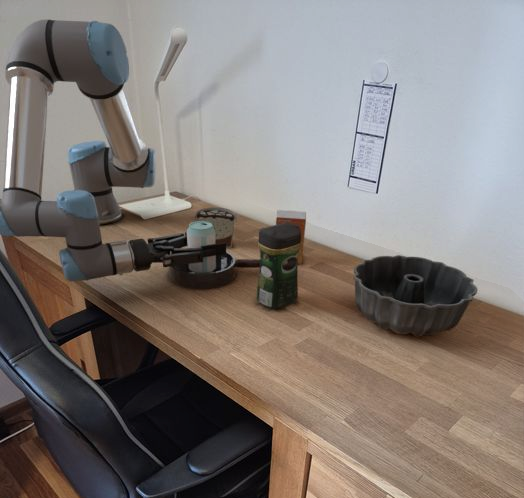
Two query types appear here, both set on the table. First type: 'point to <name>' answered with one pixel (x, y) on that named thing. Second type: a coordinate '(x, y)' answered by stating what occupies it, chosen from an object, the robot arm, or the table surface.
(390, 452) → the table surface
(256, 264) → the skillet handle
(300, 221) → the small box
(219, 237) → the food container
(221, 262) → the skillet
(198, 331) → the table surface
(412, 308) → the bundt pan
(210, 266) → the can
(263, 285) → the coffee jar
